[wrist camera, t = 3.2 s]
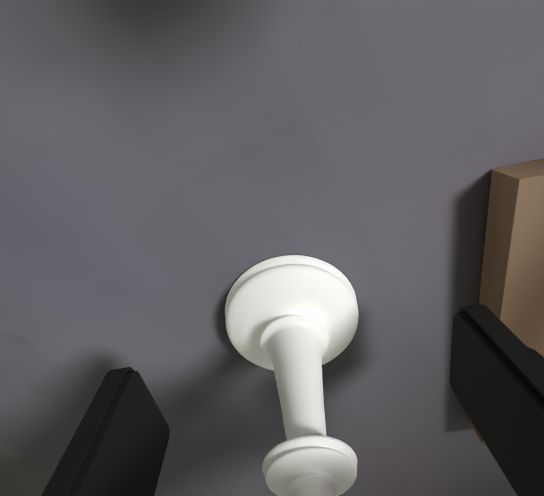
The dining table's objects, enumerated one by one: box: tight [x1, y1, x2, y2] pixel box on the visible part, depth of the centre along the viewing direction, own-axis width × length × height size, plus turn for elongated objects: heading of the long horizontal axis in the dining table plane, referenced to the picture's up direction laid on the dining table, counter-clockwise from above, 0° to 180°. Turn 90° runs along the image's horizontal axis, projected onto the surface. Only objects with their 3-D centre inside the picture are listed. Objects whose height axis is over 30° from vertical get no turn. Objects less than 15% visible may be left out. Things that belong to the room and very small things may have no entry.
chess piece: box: [225, 255, 359, 496], centre depth 8 cm, size 5×5×10 cm
